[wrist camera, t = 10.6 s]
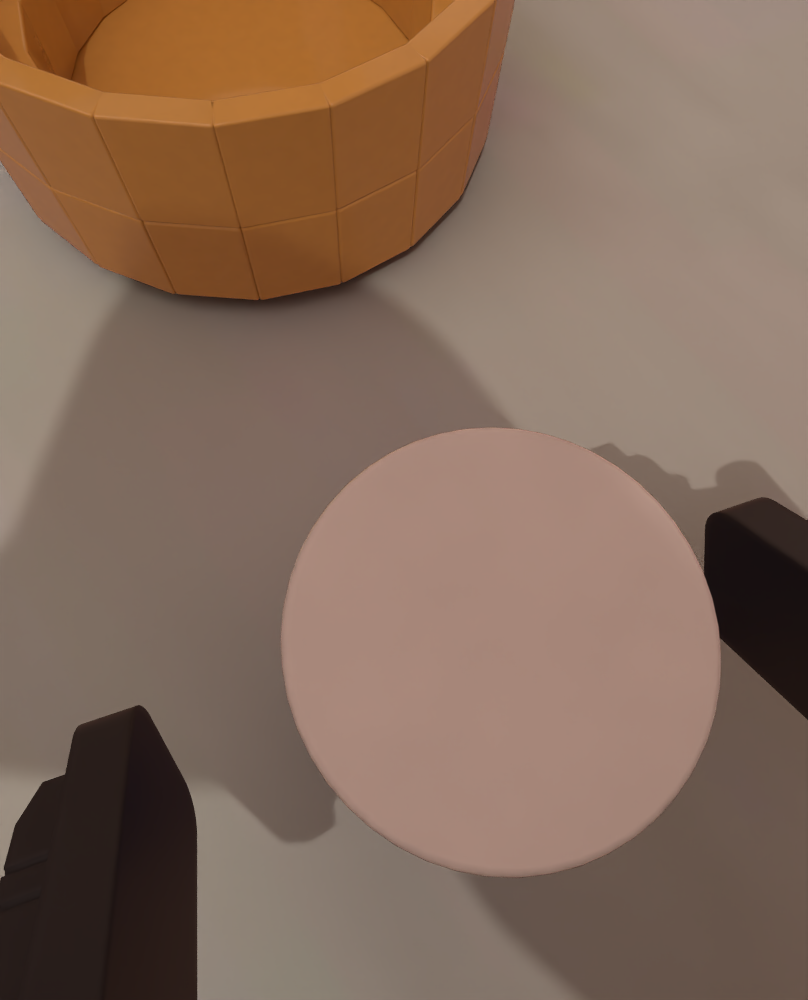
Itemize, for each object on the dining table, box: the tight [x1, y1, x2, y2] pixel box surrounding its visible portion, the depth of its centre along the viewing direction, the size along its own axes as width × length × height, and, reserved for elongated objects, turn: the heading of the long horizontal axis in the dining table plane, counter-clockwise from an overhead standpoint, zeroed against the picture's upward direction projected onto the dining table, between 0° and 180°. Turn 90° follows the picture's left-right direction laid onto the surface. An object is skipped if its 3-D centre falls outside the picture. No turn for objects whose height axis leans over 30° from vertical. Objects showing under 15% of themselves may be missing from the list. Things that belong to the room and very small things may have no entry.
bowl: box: [0, 0, 515, 300], centre depth 17 cm, size 13×13×6 cm
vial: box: [281, 427, 721, 878], centre depth 10 cm, size 4×4×10 cm
